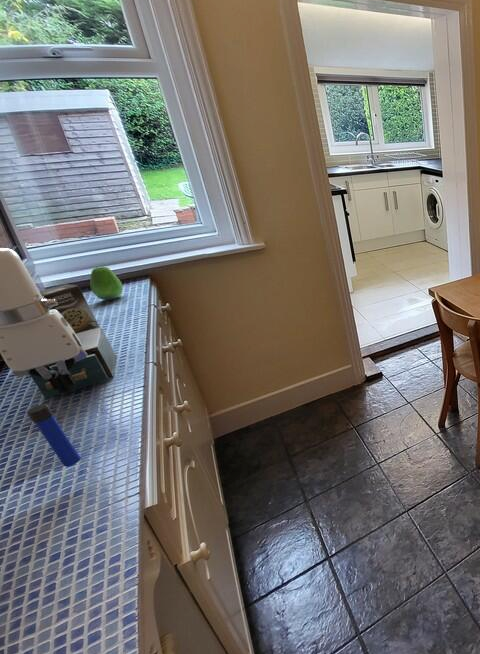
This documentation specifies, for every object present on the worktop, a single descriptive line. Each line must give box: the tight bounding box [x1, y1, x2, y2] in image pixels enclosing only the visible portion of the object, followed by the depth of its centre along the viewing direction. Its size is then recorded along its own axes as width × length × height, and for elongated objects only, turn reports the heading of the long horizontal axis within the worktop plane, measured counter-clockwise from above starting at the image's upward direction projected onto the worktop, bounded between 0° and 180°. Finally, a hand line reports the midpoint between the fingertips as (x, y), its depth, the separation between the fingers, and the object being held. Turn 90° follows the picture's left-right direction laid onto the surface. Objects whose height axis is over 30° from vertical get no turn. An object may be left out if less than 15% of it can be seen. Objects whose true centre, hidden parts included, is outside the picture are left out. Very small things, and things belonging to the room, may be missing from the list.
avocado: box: [89, 266, 123, 301], centre depth 143 cm, size 8×8×12 cm
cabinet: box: [76, 326, 117, 380], centre depth 98 cm, size 14×12×9 cm
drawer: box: [29, 351, 109, 400], centre depth 94 cm, size 17×10×7 cm, turn 40°
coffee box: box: [39, 283, 101, 334], centre depth 112 cm, size 9×6×16 cm
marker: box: [26, 403, 82, 468], centre depth 71 cm, size 2×2×12 cm
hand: (67, 389), depth 87 cm, fingers closed
